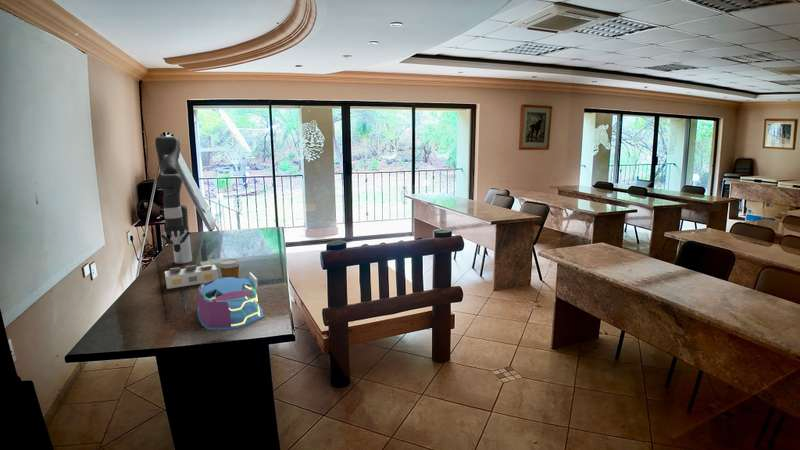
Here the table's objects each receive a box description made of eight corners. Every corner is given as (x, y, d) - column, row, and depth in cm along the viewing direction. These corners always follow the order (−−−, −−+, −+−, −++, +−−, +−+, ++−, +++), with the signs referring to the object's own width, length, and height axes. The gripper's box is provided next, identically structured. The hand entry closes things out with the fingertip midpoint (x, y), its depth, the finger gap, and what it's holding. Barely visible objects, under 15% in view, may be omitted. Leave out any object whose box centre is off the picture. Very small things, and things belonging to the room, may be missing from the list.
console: (166, 282, 217) (164, 269, 216) (215, 275, 228) (214, 262, 227) (167, 289, 208) (165, 275, 207) (218, 280, 220) (217, 267, 218)
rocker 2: (185, 268, 219) (185, 266, 219) (195, 267, 221) (194, 264, 221) (186, 269, 212) (186, 266, 212) (196, 268, 214) (196, 265, 214)
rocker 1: (169, 270, 216) (169, 268, 216) (179, 269, 218) (179, 266, 218) (170, 271, 209) (169, 269, 209) (180, 270, 211) (180, 267, 211)
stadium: (193, 305, 189) (189, 273, 186) (250, 294, 201) (247, 264, 198) (205, 336, 160) (201, 299, 157) (270, 321, 172) (268, 287, 169)
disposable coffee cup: (245, 282, 216) (243, 259, 214) (232, 289, 208) (230, 265, 205) (229, 280, 219) (227, 257, 217) (216, 287, 211) (214, 263, 208)
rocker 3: (200, 264, 223) (200, 261, 222) (209, 262, 225) (209, 260, 224) (202, 269, 216) (202, 267, 216) (212, 268, 218) (211, 265, 218)
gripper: (187, 213, 213) (191, 248, 216) (157, 216, 206) (161, 252, 210) (189, 216, 207) (193, 251, 210) (158, 219, 200) (162, 255, 203)
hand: (177, 251), depth 210 cm, fingers closed
